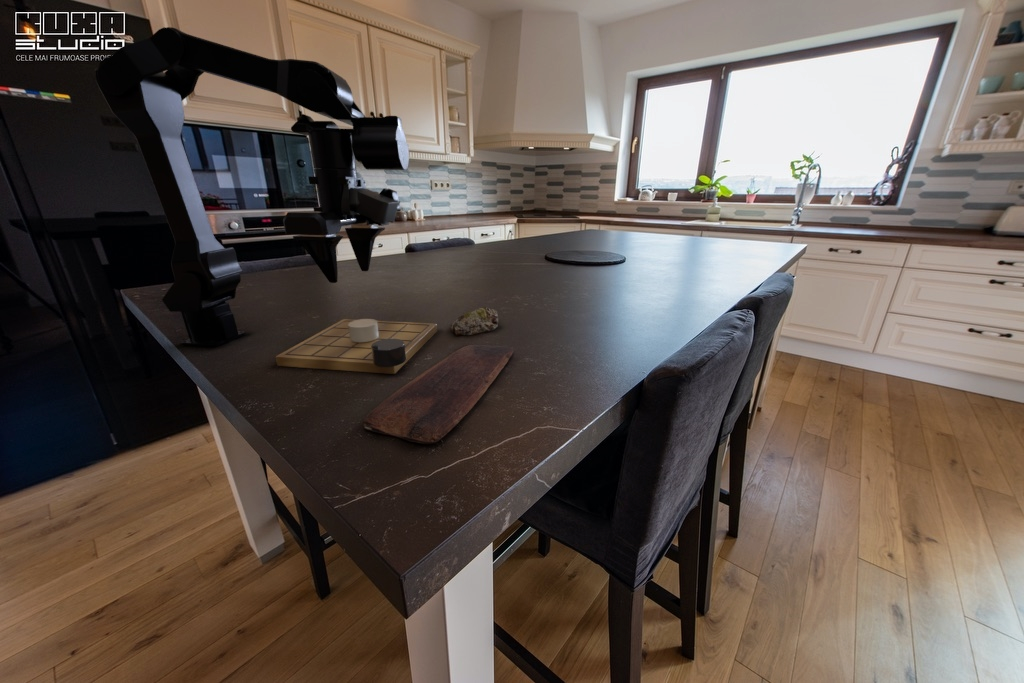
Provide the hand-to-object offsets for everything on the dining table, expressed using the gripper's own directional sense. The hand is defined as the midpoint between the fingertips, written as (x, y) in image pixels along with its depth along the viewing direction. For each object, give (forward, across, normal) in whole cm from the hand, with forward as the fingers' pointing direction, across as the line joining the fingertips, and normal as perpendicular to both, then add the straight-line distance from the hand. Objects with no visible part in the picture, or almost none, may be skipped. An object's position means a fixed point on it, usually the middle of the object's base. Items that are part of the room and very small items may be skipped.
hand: (350, 276), depth 63 cm
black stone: (+9, -10, -11) cm, 17 cm away
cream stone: (+9, -2, -2) cm, 10 cm away
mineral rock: (+11, +10, -17) cm, 23 cm away
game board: (+11, -2, -2) cm, 12 cm away
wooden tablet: (+11, -13, -21) cm, 27 cm away
